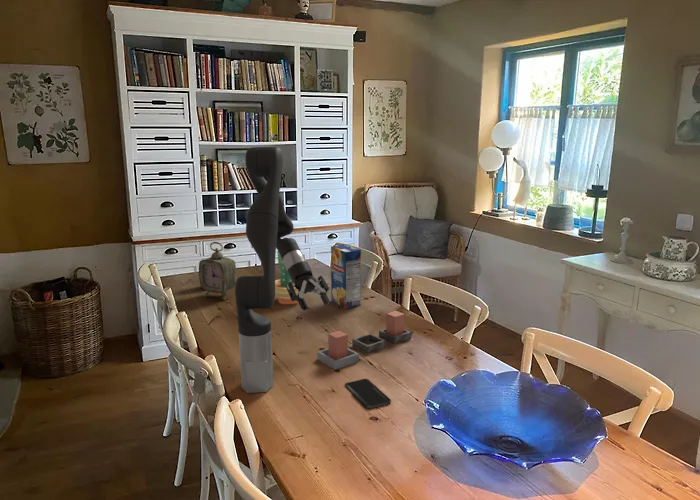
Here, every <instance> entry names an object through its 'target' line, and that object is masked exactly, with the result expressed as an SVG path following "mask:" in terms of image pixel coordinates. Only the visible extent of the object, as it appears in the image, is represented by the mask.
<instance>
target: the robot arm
mask: <svg viewBox="0 0 700 500" xmlns="http://www.w3.org/2000/svg"><path fill="white" fill-rule="evenodd" d="M283 155H284V154H283V151H282V149H281V148H280V147H278V146H253V147H249V148H248V149H247V150H246V152H245V157H244V158H245V159H244V160H245V167H246V171H247V174H248V176H249V178H250V181H251V183H252V185H253V187H254V189H255V191H256V192H257V195H258V197H256V198H255V200H254V201H253V203H252V204H251V205H250V207H249V209H248V211H247V213H246V223H245V234H246V237H247V240H248V241H249V243H250V246H251V247H252V248H253V250H254V252H255V254H256V255H257V257H258V259H259V261H260V263H261V265H262V266H261V267H262V270H263V271H262V272H263V275H242V276H239V277H237V280H236V284H235V287H234V299H235V306H236V317H237V326H238V343H239V345H238V347H239V364H240V365H239V367H240V383H241V385H240V386H241V389H243V390H244V391H245V394H253V393H254V394H255V393H256V394H257V393H267V392H269V390H270V389H271V388H273V386H274V370H273V369H274V368H273V366H274V365H273V344H272V342H273V341H272V338H273V337H272V322H271V319H270V318H268V317H266V316H264V315H261V314H259V313H257V312H255V311H254V310H265V309H266V310H269V309H271V308H272V307H273V306H274V304H275V299H276V295H275V280H276V253H277V252H278V251H279V253H280V255H281V257H282V259H283V262H284V265H285V268H286V270H287V272H288V274H289V276H290V278H291V280H292V282H293V283H291V282H289V283H288V285H287V286H286V288H287V291H288V293H289V296H290V298H291V300H292V301H297V302H298V303H297V304H298V305H299V307H300V309H301V310H302V311H304V312H305V311H307V310H308V309H309V307H308V304H307V302H306V301H305V298H304V297H303V296H304V294H307V293H314V294H318V295H319V297H320V299H321V301H322V303H323V305H324V306H328V304H329V302H330V299H329V297H328V295H327V293H328V291H330V287H329V285H328V284H327V282H326V280H325V279H324V277H323V275H319V276H318V277H315V276H314V275H313V271H312V269H311V267H310V265H309V263H308V261H307V258H306V257H305V255H304V254H303V252H302V251H301V248H300V247H299V244H298V242H297V241H296V239H295V238H292V237H289V238H284V237H286V236H289V235H291V234H292V233H293V231H294V224H293V222H292V220H291V219H290V217H289V215H288V214H287V213H286V210H285V205H284V200H283V197H282V196H281V194H280V190H281V184H282V183H281V182H282V175H283V174H282V173H283V167H284V156H283ZM265 177H266V178H267V180H266V179H265ZM276 251H277V252H276ZM294 287H295V288H296V289H298V294H297V295H296V292H295V290H294Z"/></svg>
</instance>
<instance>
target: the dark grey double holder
mask: <svg viewBox="0 0 700 500" xmlns="http://www.w3.org/2000/svg"><path fill="white" fill-rule="evenodd" d="M415 340H416V339H415V338H413V337H412V331H410V330H407V329H406V328H404V333H403V334H400V335H397V336H393V335H391V334H388V333H386V328H383V329H380V330H379V331H378V335H376V334H375V335H374V334H372V333H368V334H363V335H361V336H358V337H355V338H352V340H351V341H352V342H351V343H350V344H348V346H349V347H352V348H353V349H355V350H357V351H359V352H361V353H363V354H365V355H367V356H368V357H370V356H372V355H375V354H379V353H381V352H384V351H387V350H391V349H393V348H395V347H398V346H401V345H404V344H407V343H411V342H412V341H413V342H414V341H415Z"/></svg>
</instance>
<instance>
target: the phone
mask: <svg viewBox="0 0 700 500" xmlns="http://www.w3.org/2000/svg"><path fill="white" fill-rule="evenodd" d="M344 386H345V388H346V389H347V390H348V391H349V392H350V393H351V395H352V396H353V397H354V399H356V400H357V401H358V403H360V404H361V406H363V408H365V409H366V410H373V408H374V409H377V407H378V408H381V407H384V405H385V406H389V405H391V404H390V403H391V402H392V399H390V398H389V397H388V396H387V395H386V394H385V393H384V392H383V391H382V390H381V389H379V388H378V386H376V385H375V384H374V383H373V382H372V381H371V380H370V379H369V378H362V379H358V380H353V381H349V382H346V383H344ZM388 404H389V405H388Z"/></svg>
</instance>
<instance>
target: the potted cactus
mask: <svg viewBox="0 0 700 500" xmlns="http://www.w3.org/2000/svg"><path fill="white" fill-rule="evenodd" d="M276 253H277V263H278V266H279V271H280V272H279V279H275V297H277V299H278V303H279V304H282V305H295V304H299V303H298V302H297V301H292V300H291V298H290V296H289V293H288V291H287V288H286V286H287V285H288V283H289V282H291V283H293V282H292V280H291V278H290V276H289V274H288V272H287V270H286V268H285V265H284V262H283V259H282V257H281V255H280V253H279V251H278V250H277V252H276ZM294 290H295V292H296V295H297V294H298V289H296V288H295V287H294Z"/></svg>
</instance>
